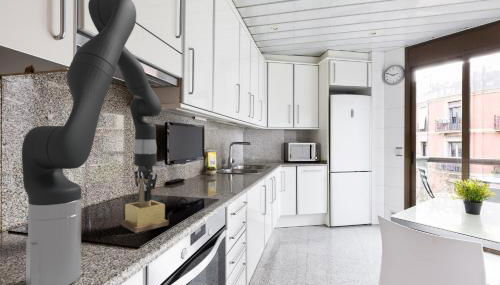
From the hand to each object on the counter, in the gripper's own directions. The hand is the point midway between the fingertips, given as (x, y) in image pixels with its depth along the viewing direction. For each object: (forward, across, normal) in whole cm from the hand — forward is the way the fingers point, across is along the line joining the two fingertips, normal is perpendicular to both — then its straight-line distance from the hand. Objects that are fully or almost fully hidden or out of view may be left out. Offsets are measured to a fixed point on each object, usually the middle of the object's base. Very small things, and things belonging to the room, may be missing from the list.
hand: (145, 199), depth 96 cm
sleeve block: (+9, 0, 0) cm, 9 cm away
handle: (+7, 0, 0) cm, 7 cm away
